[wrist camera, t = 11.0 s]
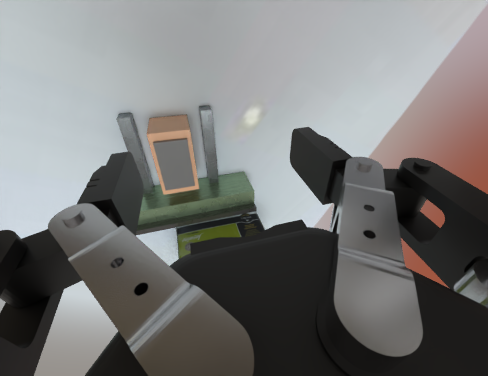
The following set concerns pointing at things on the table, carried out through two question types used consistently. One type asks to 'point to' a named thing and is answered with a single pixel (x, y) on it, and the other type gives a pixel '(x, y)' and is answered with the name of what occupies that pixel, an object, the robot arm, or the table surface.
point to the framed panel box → (173, 153)
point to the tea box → (218, 230)
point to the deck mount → (194, 201)
